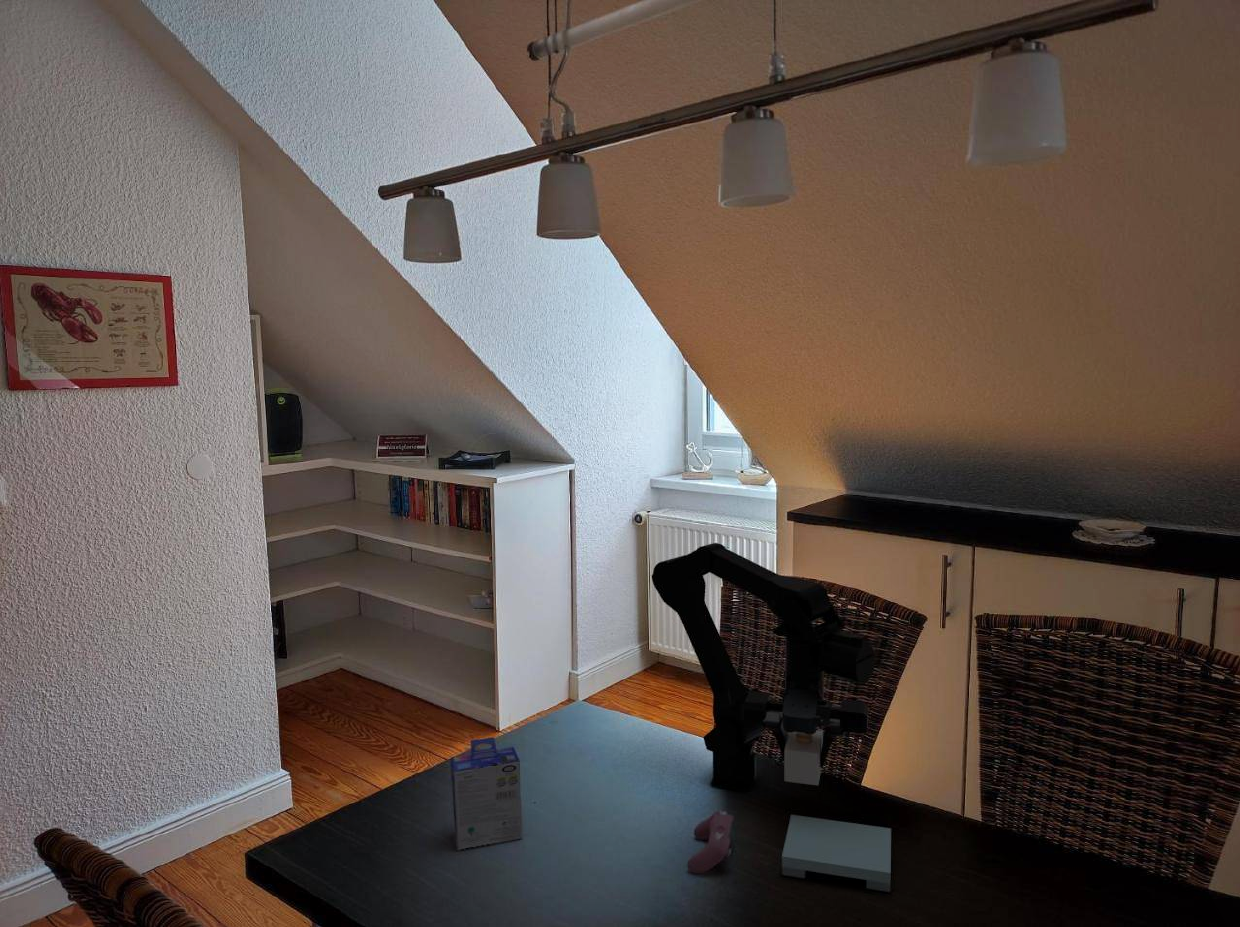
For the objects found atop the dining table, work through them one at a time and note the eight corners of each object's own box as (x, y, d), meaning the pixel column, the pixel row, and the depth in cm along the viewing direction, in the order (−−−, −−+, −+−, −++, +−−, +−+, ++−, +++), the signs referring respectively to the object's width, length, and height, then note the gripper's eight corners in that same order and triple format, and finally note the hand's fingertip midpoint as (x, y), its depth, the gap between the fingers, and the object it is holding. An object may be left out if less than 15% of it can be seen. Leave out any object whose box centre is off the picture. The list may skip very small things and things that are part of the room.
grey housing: (784, 781, 130) (784, 744, 130) (790, 757, 138) (790, 722, 137) (818, 785, 129) (818, 748, 128) (822, 761, 136) (822, 726, 136)
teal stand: (781, 876, 117) (781, 856, 117) (791, 833, 128) (791, 814, 127) (890, 894, 113) (890, 872, 113) (890, 848, 123) (891, 828, 123)
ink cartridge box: (517, 820, 133) (514, 730, 131) (524, 839, 128) (521, 745, 126) (452, 832, 130) (448, 740, 128) (457, 852, 125) (452, 756, 123)
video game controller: (713, 888, 118) (737, 847, 116) (683, 871, 118) (706, 830, 117) (719, 847, 127) (741, 809, 126) (691, 831, 128) (713, 793, 126)
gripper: (734, 680, 127) (734, 781, 128) (866, 692, 121) (865, 798, 123) (746, 654, 137) (746, 748, 139) (868, 665, 131) (867, 762, 133)
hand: (803, 764), depth 133 cm, fingers closed on grey housing, 5 cm apart
